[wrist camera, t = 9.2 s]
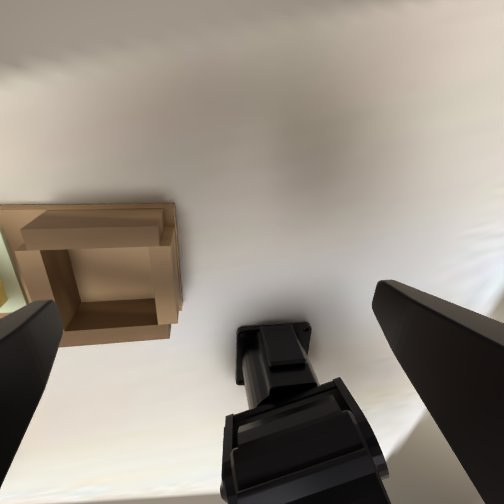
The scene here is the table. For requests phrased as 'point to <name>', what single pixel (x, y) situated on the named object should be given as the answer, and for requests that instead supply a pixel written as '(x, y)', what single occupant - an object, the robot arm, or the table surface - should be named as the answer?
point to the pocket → (101, 236)
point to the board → (82, 259)
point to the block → (2, 295)
